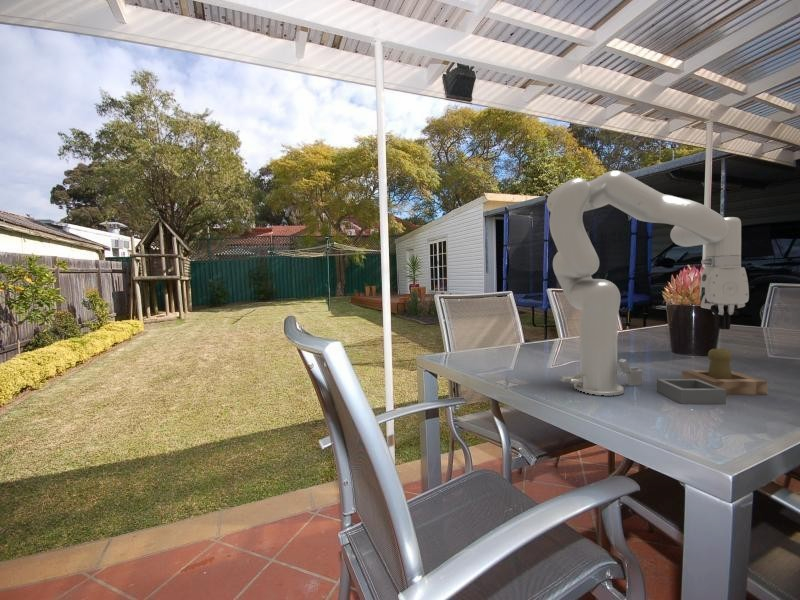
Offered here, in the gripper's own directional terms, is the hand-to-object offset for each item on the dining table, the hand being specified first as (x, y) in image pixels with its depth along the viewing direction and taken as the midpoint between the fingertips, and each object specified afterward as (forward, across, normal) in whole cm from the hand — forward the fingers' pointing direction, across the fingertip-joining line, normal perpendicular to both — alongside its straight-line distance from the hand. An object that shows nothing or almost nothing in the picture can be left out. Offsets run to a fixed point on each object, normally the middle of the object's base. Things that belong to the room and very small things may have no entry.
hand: (722, 328), depth 105 cm
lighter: (+17, -23, +3) cm, 29 cm away
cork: (+17, -1, 0) cm, 17 cm away
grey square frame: (+17, -14, -9) cm, 24 cm away
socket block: (+17, 0, 0) cm, 17 cm away
